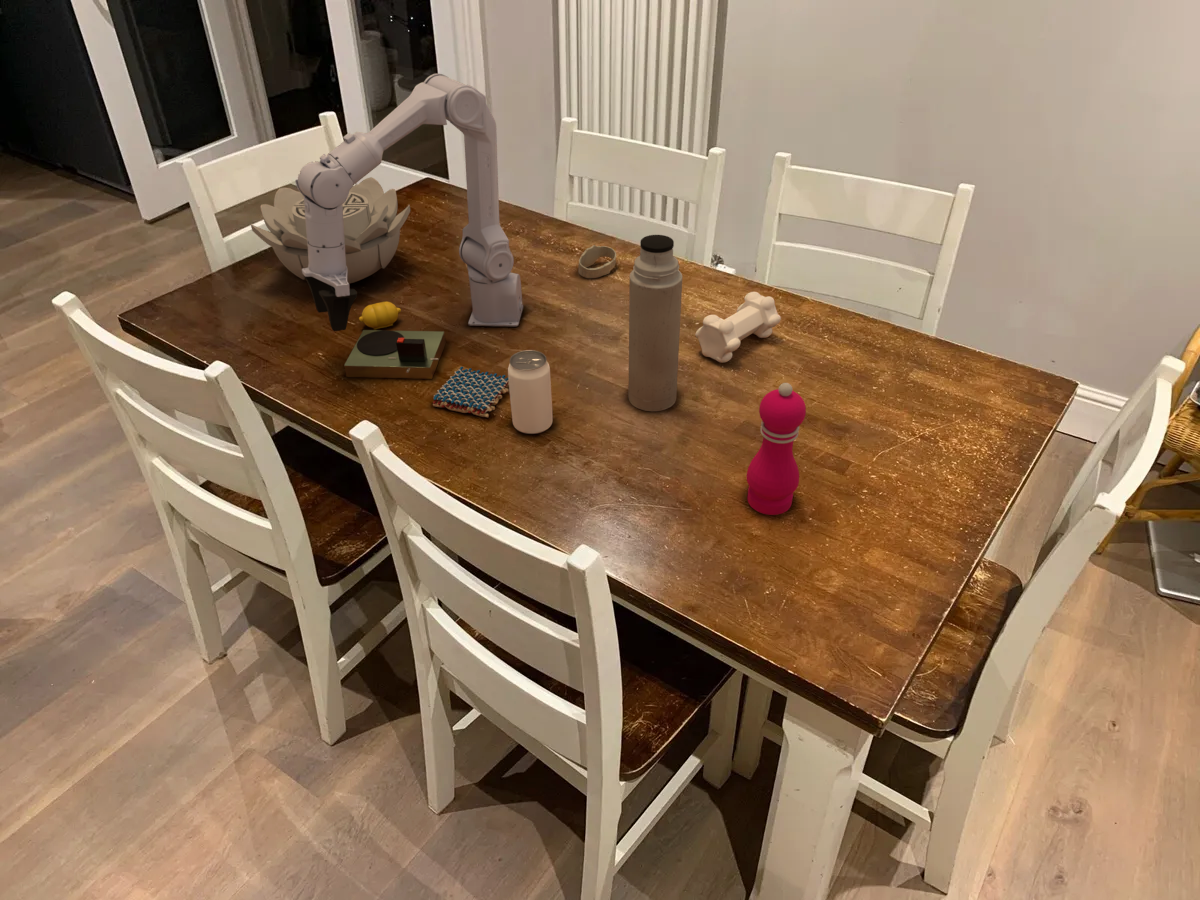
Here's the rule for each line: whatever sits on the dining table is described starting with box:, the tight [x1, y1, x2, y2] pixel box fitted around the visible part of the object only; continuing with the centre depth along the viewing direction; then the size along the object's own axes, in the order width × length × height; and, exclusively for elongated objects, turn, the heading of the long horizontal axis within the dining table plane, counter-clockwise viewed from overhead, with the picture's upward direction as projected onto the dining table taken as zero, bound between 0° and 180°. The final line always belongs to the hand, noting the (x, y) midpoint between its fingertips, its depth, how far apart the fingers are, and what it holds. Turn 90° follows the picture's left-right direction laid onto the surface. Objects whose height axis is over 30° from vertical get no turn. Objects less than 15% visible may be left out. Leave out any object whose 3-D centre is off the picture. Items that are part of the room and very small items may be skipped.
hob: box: [343, 329, 447, 380], centre depth 152 cm, size 16×14×3 cm
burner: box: [356, 329, 404, 356], centre depth 153 cm, size 8×8×1 cm
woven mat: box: [432, 366, 510, 419], centre depth 143 cm, size 10×11×2 cm
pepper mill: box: [746, 382, 807, 516], centre depth 116 cm, size 7×7×20 cm
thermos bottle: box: [627, 234, 683, 412], centre depth 134 cm, size 8×8×28 cm
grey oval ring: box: [577, 244, 617, 279], centre depth 178 cm, size 9×6×5 cm
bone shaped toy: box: [694, 291, 782, 364], centre depth 153 cm, size 15×9×8 cm, turn 135°
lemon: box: [358, 301, 402, 330], centre depth 162 cm, size 8×4×4 cm, turn 116°
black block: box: [396, 338, 427, 361], centre depth 148 cm, size 5×2×4 cm, turn 86°
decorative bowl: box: [250, 176, 411, 285], centre depth 176 cm, size 30×30×15 cm
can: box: [507, 349, 554, 435], centre depth 134 cm, size 6×6×12 cm
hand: (331, 320), depth 144 cm, fingers open, 7 cm apart
